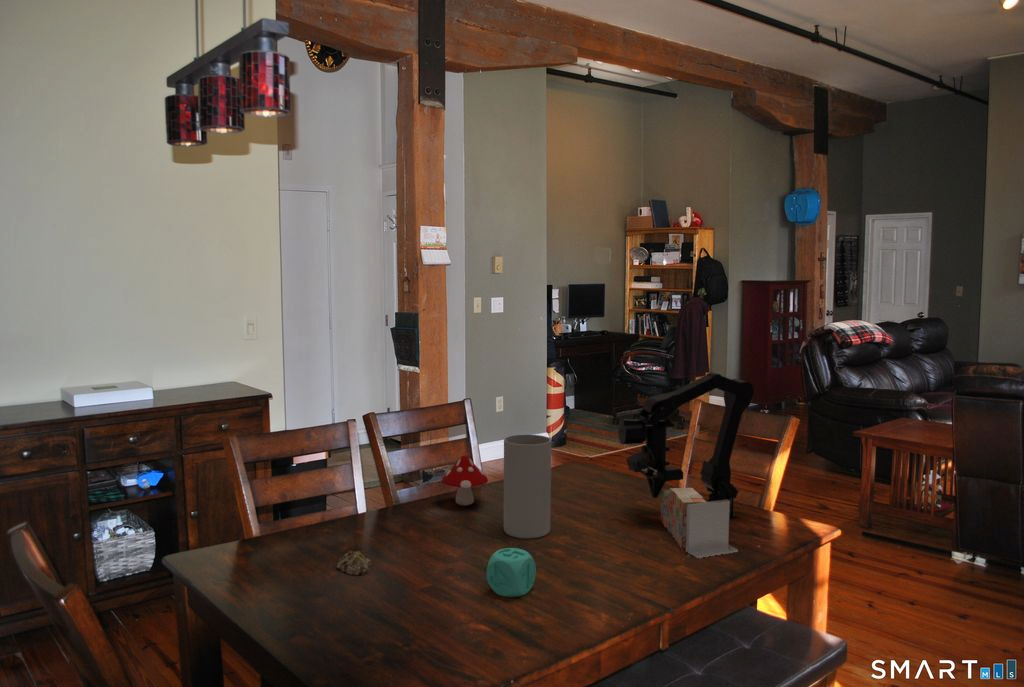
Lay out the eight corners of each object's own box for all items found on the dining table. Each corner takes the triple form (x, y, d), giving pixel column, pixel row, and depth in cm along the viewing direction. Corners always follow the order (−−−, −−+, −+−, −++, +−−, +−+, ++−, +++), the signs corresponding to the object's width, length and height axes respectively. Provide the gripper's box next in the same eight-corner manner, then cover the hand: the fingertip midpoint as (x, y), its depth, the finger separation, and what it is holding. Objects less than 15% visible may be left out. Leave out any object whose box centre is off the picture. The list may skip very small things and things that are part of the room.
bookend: (725, 545, 195) (726, 499, 194) (737, 551, 190) (739, 505, 189) (685, 551, 190) (687, 504, 189) (697, 558, 186) (699, 510, 184)
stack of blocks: (659, 521, 214) (660, 478, 212) (681, 521, 214) (682, 478, 213) (681, 549, 192) (682, 501, 191) (705, 548, 193) (707, 501, 192)
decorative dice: (517, 600, 162) (517, 564, 161) (485, 592, 166) (486, 556, 165) (536, 587, 168) (536, 552, 168) (505, 579, 173) (505, 545, 172)
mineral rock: (329, 554, 181) (361, 540, 184) (334, 570, 182) (366, 556, 186) (342, 572, 172) (375, 557, 175) (348, 589, 173) (380, 573, 176)
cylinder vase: (496, 535, 201) (496, 442, 198) (513, 521, 212) (514, 433, 210) (540, 542, 196) (541, 446, 194) (556, 527, 208) (557, 436, 205)
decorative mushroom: (486, 512, 220) (486, 461, 218) (438, 512, 220) (438, 461, 219) (488, 498, 234) (489, 450, 232) (443, 497, 234) (443, 449, 233)
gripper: (613, 438, 217) (612, 491, 219) (649, 452, 200) (648, 510, 202) (647, 435, 222) (645, 487, 223) (685, 449, 205) (683, 505, 206)
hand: (654, 497), depth 213 cm, fingers closed
